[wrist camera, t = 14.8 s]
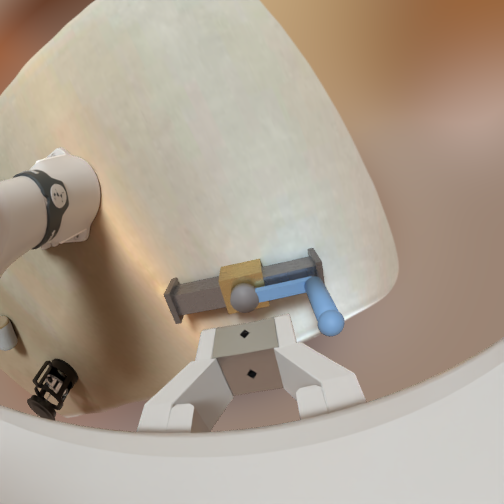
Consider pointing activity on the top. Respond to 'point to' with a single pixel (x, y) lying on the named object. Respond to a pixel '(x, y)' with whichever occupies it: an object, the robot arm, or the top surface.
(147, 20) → the top surface
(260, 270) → the valve pipe
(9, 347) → the ceramic mug
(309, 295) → the lever
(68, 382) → the french press
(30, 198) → the robot arm
